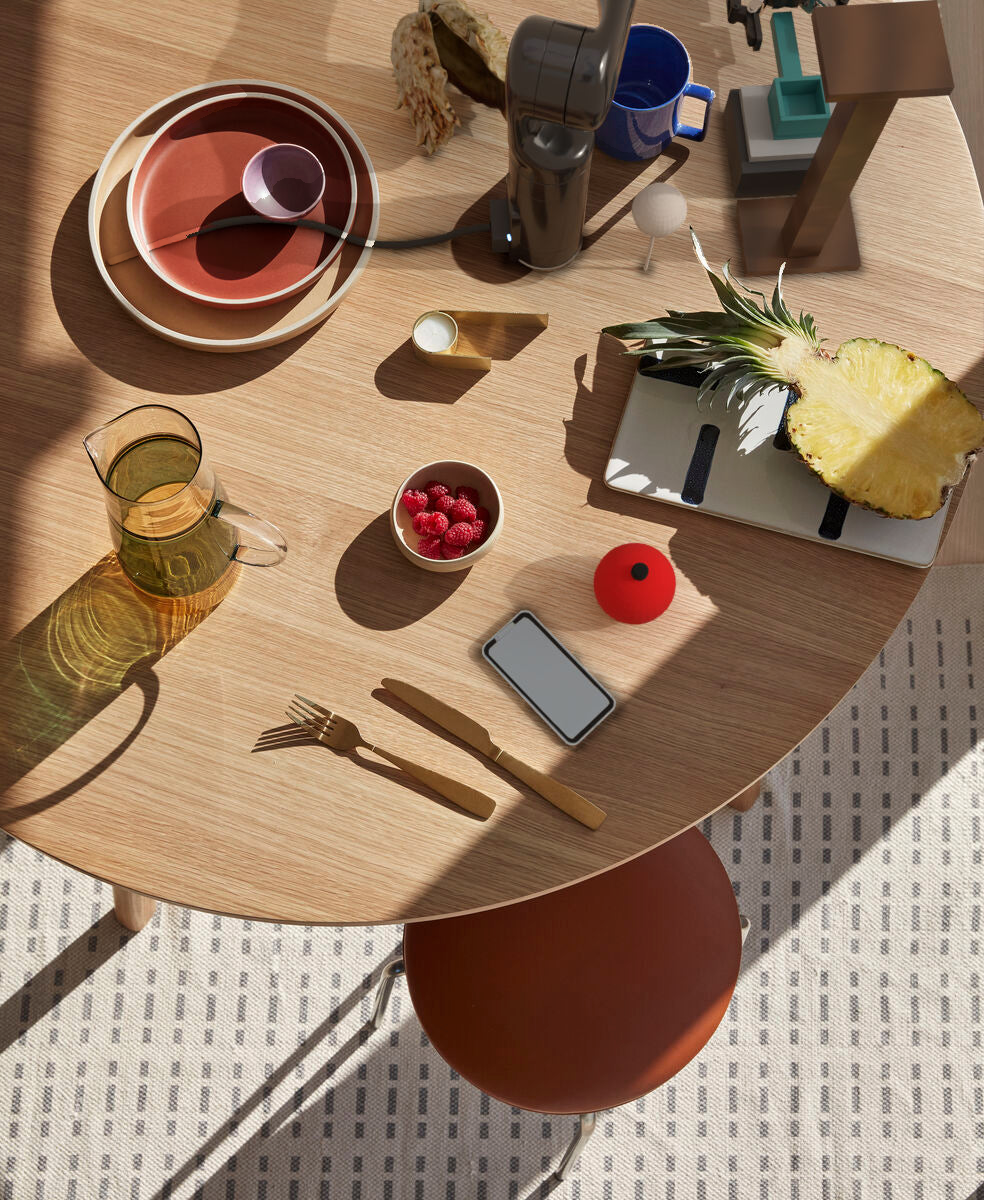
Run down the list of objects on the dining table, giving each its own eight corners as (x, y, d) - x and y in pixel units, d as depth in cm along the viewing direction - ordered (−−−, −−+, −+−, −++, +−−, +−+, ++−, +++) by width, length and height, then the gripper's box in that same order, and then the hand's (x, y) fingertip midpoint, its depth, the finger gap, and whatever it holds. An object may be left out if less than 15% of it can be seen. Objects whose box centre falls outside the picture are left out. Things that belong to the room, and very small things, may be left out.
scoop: (773, 140, 133) (780, 120, 129) (755, 22, 137) (761, 1, 134) (823, 137, 133) (831, 117, 129) (803, 19, 137) (810, -3, 134)
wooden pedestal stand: (744, 277, 135) (818, 95, 104) (734, 205, 137) (803, 7, 106) (858, 269, 135) (965, 86, 104) (846, 198, 137) (947, -2, 106)
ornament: (659, 642, 123) (672, 621, 114) (581, 620, 124) (588, 598, 114) (677, 567, 125) (692, 541, 116) (601, 547, 126) (609, 519, 116)
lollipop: (672, 249, 136) (692, 173, 121) (669, 292, 134) (689, 220, 120) (621, 245, 136) (636, 168, 121) (618, 288, 134) (632, 215, 120)
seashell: (436, 86, 120) (556, 50, 124) (368, -28, 125) (485, -58, 129) (427, 199, 137) (533, 165, 141) (366, 95, 142) (470, 65, 146)
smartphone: (571, 749, 120) (477, 650, 122) (571, 750, 120) (477, 652, 123) (620, 703, 121) (525, 606, 123) (619, 704, 122) (525, 607, 124)
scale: (733, 198, 138) (744, 168, 132) (722, 116, 141) (731, 83, 135) (845, 191, 138) (860, 161, 132) (831, 109, 141) (845, 76, 135)
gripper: (724, -89, 132) (741, 24, 128) (842, -96, 133) (862, 16, 128) (712, -38, 140) (728, 70, 136) (824, -45, 140) (843, 63, 136)
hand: (793, 44), depth 132 cm, fingers open, 8 cm apart
